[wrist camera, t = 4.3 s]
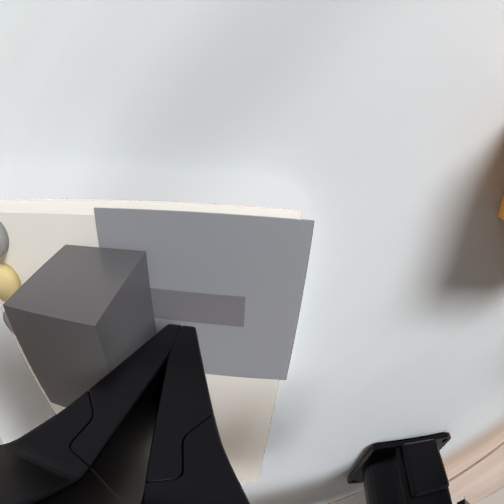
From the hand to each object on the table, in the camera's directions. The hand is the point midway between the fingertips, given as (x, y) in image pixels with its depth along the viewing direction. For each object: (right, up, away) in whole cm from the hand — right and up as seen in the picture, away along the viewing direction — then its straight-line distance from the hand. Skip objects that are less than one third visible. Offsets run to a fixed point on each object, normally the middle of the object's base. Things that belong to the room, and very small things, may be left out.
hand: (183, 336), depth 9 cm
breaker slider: (-3, +1, +1) cm, 3 cm away
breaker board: (-4, -4, +6) cm, 8 cm away
